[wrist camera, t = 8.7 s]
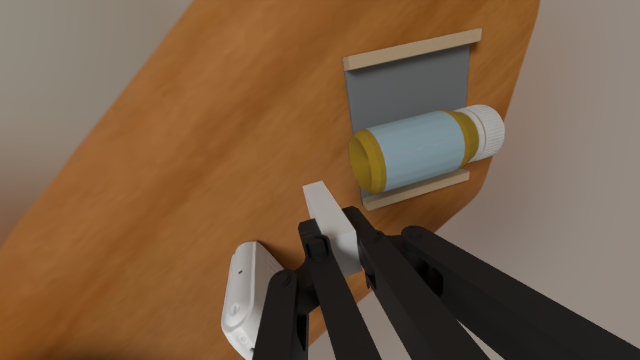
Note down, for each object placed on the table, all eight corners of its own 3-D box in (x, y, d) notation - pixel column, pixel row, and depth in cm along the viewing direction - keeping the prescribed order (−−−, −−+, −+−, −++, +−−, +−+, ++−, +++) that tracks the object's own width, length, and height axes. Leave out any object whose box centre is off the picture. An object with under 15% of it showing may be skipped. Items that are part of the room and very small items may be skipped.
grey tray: (362, 204, 32) (368, 211, 30) (342, 58, 24) (348, 56, 23) (458, 174, 34) (468, 179, 32) (468, 30, 26) (481, 27, 25)
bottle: (355, 191, 29) (461, 160, 31) (380, 201, 22) (513, 161, 24) (342, 135, 28) (452, 107, 30) (363, 128, 21) (504, 93, 23)
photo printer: (226, 251, 30) (208, 352, 19) (255, 233, 30) (253, 324, 19) (272, 295, 34) (279, 398, 23) (297, 280, 34) (316, 374, 23)
